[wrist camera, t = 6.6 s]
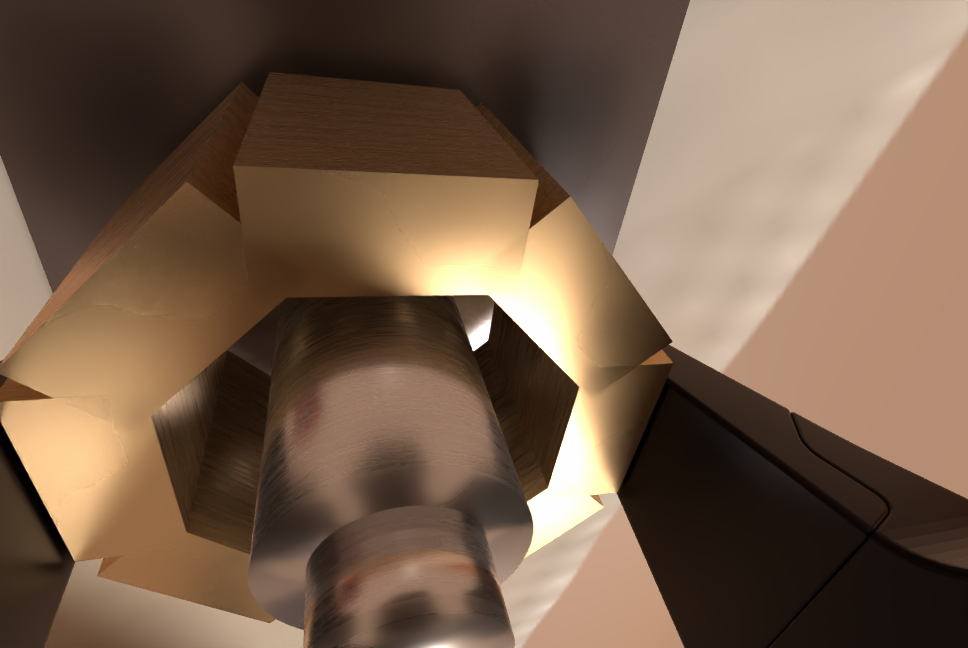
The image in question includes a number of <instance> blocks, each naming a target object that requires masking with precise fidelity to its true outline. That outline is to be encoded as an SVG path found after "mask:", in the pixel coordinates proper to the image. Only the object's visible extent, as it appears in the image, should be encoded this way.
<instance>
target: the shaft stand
mask: <svg viewBox="0 0 968 648" xmlns="http://www.w3.org/2000/svg"><path fill="white" fill-rule="evenodd" d="M689 2H690V0H0V155H1V157H2V160H3V163H4V165H5V168H6V171H7V173H8V176H9V178H10V181H11V184H12V186H13V189H14V192H15V194H16V197H17V200H18V202H19V205H20V207H21V210H22V213H23V215H24V218H25V221H26V223H27V226H28V228H29V231H30V234H31V236H32V239H33V242H34V244H35V247H36V250H37V252H38V255H39V257H40V260H41V263H42V265H43V268H44V271H45V273H46V276H47V278H48V281H49V284H50V286H51V289H52V292H53V294H54V292H55V291H56V290H57V288H58V287H59V286H60V284H61V283H62V282H63V280H64V279H65V278H66V276H67V275H68V274H69V272H70V271H71V270H72V268H73V267H74V266H75V264H76V263H77V262H78V260H79V259H80V258H81V256H82V255H83V254H84V252H85V251H86V250H87V248H88V247H89V246H90V244H91V243H92V242H93V240H94V239H95V238H96V236H97V235H98V234H99V232H100V231H101V230H102V228H103V227H104V226H105V224H106V223H107V222H108V220H109V219H110V218H111V216H112V215H113V214H114V212H115V211H116V210H117V208H118V207H119V206H120V205H121V204H122V203H123V202H124V201H125V200H126V199H127V198H128V197H129V196H130V195H131V194H132V193H133V192H134V191H135V190H136V189H137V188H138V187H139V186H140V185H141V184H142V183H143V182H144V181H145V180H146V179H147V177H148V176H149V175H150V174H151V173H152V172H153V171H154V170H155V169H156V168H157V167H158V166H159V165H160V164H161V163H162V162H163V161H164V160H165V159H166V158H167V157H168V156H169V155H170V154H171V153H172V152H173V151H174V150H175V149H176V148H177V147H178V146H179V145H180V144H181V143H182V142H183V141H184V140H185V139H186V138H187V137H188V136H189V135H190V134H191V133H192V132H193V131H194V130H195V129H196V128H197V127H198V126H199V125H200V124H201V123H202V121H203V120H204V119H205V118H206V117H207V116H208V115H209V114H210V113H211V112H212V111H213V110H214V109H215V108H216V107H217V106H218V105H219V104H220V103H221V102H222V101H223V100H224V99H225V98H226V97H227V96H228V95H229V94H230V93H231V92H232V91H233V90H234V89H235V88H236V87H237V86H238V85H239V84H240V83H241V82H243V83H244V84H245V85H246V86H247V87H248V88H249V89H250V90H251V91H252V92H253V93H254V94H255V95H256V96H257V97H258V98H260V95H261V92H262V90H263V87H264V85H265V82H266V80H267V77H268V75H269V72H273V73H284V74H295V75H306V76H317V77H328V78H338V79H349V80H360V81H371V82H382V83H392V84H403V85H414V86H425V87H436V88H447V89H457V90H460V91H461V92H462V93H463V94H464V95H465V96H466V97H467V99H468V100H469V101H470V102H471V103H472V104H473V105H474V107H475V108H476V107H477V106H478V105H479V104H480V103H481V102H482V103H483V104H484V105H485V106H486V107H487V108H488V109H489V110H490V112H491V113H492V114H493V115H494V116H495V117H496V118H497V119H498V120H499V121H500V122H501V123H502V124H503V125H504V126H505V127H506V128H507V130H508V131H509V132H510V133H511V134H512V135H513V136H514V137H515V138H516V139H517V140H518V141H519V142H520V143H521V144H522V145H523V146H524V148H525V149H526V150H527V151H528V152H529V153H530V154H531V155H532V156H533V157H534V158H535V159H536V160H537V161H538V162H539V163H540V165H541V166H542V167H543V168H544V169H545V170H546V171H547V172H548V173H549V174H550V175H551V176H552V177H553V178H554V179H555V180H556V181H557V183H558V184H559V185H560V186H561V187H562V188H563V189H564V190H565V191H566V192H567V193H568V194H569V195H570V196H571V198H572V199H573V201H574V202H575V203H576V205H577V206H578V208H579V209H580V211H581V212H582V213H583V215H584V216H585V218H586V219H587V221H588V222H589V223H590V225H591V226H592V228H593V229H594V230H595V232H596V233H597V235H598V236H599V238H600V239H601V240H602V242H603V243H604V245H605V246H606V248H607V249H608V250H609V252H610V253H611V255H612V254H613V251H614V248H615V245H616V241H617V238H618V235H619V231H620V228H621V225H622V222H623V218H624V215H625V212H626V208H627V205H628V202H629V199H630V195H631V192H632V189H633V185H634V182H635V179H636V176H637V172H638V169H639V166H640V162H641V159H642V156H643V153H644V149H645V146H646V143H647V139H648V136H649V133H650V130H651V126H652V123H653V120H654V117H655V113H656V110H657V107H658V103H659V100H660V97H661V94H662V90H663V87H664V84H665V80H666V77H667V74H668V71H669V67H670V64H671V61H672V57H673V54H674V51H675V48H676V44H677V41H678V38H679V34H680V31H681V28H682V25H683V21H684V18H685V15H686V11H687V8H688V5H689ZM494 302H495V301H494V300H493V299H492V298H491V297H490V296H489V295H428V296H361V297H295V298H285V299H284V300H283V301H282V302H281V303H280V304H279V305H277V306H276V307H275V308H274V309H273V310H272V311H270V312H269V313H268V314H267V315H266V316H265V317H264V318H262V319H261V320H260V321H259V322H258V323H257V324H256V325H254V326H253V327H252V328H251V329H250V330H249V331H248V332H246V333H245V334H244V335H243V336H242V337H241V338H240V339H238V340H237V341H236V342H235V343H234V344H233V345H232V346H230V347H229V348H228V351H230V352H232V353H233V354H235V355H237V356H238V357H240V358H242V359H243V360H245V361H247V362H248V363H250V364H252V365H253V366H255V367H256V368H258V369H260V370H261V371H263V372H265V373H266V374H268V375H270V376H271V382H270V390H269V399H268V407H267V416H266V424H265V433H264V441H263V450H262V458H261V467H260V475H259V484H258V492H257V501H256V509H255V518H254V526H253V534H252V543H251V551H250V560H249V568H248V582H249V587H250V590H251V593H252V595H253V597H254V598H255V600H256V602H257V603H258V604H259V605H260V606H261V607H262V608H263V609H264V610H265V611H266V612H267V613H268V614H270V615H271V616H273V617H274V618H276V619H277V620H279V621H281V622H284V623H286V624H288V625H290V626H293V627H296V628H299V629H303V630H304V644H303V648H514V646H515V640H514V635H513V632H512V628H511V624H510V621H509V617H508V613H507V610H506V606H505V602H504V598H503V595H502V591H501V587H500V584H502V583H503V582H504V581H505V580H506V579H507V578H508V577H509V576H510V575H511V574H512V573H513V572H514V571H515V570H516V569H517V567H518V566H519V565H520V564H521V562H522V561H523V559H524V557H525V556H526V554H527V552H528V550H529V548H530V545H531V543H532V538H533V533H534V523H533V518H532V514H531V511H530V508H529V505H528V503H527V500H526V497H525V494H524V491H523V489H522V486H521V483H520V480H519V477H518V475H517V472H516V469H515V466H514V463H513V461H512V458H511V455H510V452H509V450H508V447H507V444H506V441H505V438H504V436H503V433H502V430H501V427H500V424H499V422H498V419H497V416H496V413H495V410H494V408H493V405H492V402H491V399H490V396H489V394H488V391H487V388H486V385H485V382H484V380H483V377H482V374H481V371H480V368H479V366H478V363H477V360H476V357H475V354H474V352H473V351H474V350H476V349H477V348H478V347H480V346H481V345H482V344H483V343H485V342H486V341H487V340H488V337H489V331H490V326H491V320H492V314H493V308H494Z"/></svg>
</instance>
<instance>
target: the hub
mask: <svg viewBox="0 0 968 648" xmlns="http://www.w3.org/2000/svg"><path fill="white" fill-rule="evenodd" d="M428 295H489V296H490V297H491V298H492V299H493V300H494V301H495V302H494V308H493V314H492V320H491V326H490V331H489V337H488V340H487V341H486V342H485V343H483V344H482V345H481V346H480V347H478V348H477V349H476V350H474V351H473V352H474V354H475V357H476V360H477V363H478V366H479V368H480V371H481V374H482V377H483V380H484V382H485V385H486V388H487V391H488V394H489V396H490V399H491V402H492V405H493V408H494V410H495V413H496V416H497V419H498V422H499V424H500V427H501V430H502V433H503V436H504V438H505V441H506V444H507V447H508V450H509V452H510V455H511V458H512V461H513V463H514V466H515V469H516V472H517V475H518V477H519V480H520V483H521V486H522V489H523V491H524V494H525V497H526V500H527V503H528V505H529V508H530V511H531V514H532V518H533V523H534V533H533V538H532V543H531V545H530V548H529V550H528V552H527V554H526V556H525V557H527V556H528V555H530V554H532V553H533V552H535V551H536V550H538V549H539V548H541V547H542V546H544V545H546V544H547V543H549V542H550V541H552V540H553V539H555V538H556V537H558V536H560V535H561V534H563V533H564V532H566V531H567V530H569V529H570V528H572V527H574V526H575V525H577V524H578V523H580V522H581V521H583V520H584V519H586V518H588V517H589V516H591V515H592V514H594V513H595V512H597V511H598V510H600V509H602V508H603V507H604V506H603V504H602V502H601V500H600V498H599V496H598V494H605V493H612V492H618V491H619V489H620V486H621V484H622V482H623V479H624V477H625V475H626V472H627V470H628V468H629V465H630V463H631V461H632V458H633V456H634V454H635V451H636V449H637V447H638V444H639V442H640V440H641V437H642V435H643V433H644V430H645V428H646V426H647V423H648V421H649V419H650V416H651V414H652V412H653V409H654V407H655V405H656V402H657V400H658V398H659V395H660V393H661V391H662V389H663V386H664V384H665V382H666V379H667V377H668V375H669V372H670V370H671V368H672V365H673V362H672V361H671V360H670V358H669V357H668V356H667V355H666V354H665V352H664V351H663V350H662V349H663V348H664V347H666V346H667V345H669V344H670V343H672V340H671V339H670V337H669V336H668V334H667V333H666V332H665V330H664V329H663V327H662V326H661V324H660V323H659V322H658V320H657V319H656V317H655V316H654V314H653V313H652V312H651V310H650V309H649V307H648V306H647V304H646V303H645V302H644V300H643V299H642V297H641V296H640V295H639V293H638V292H637V290H636V289H635V287H634V286H633V285H632V283H631V282H630V280H629V279H628V277H627V276H626V275H625V273H624V272H623V270H622V269H621V267H620V266H619V265H618V263H617V262H616V260H615V259H614V258H613V256H612V255H611V253H610V252H609V250H608V249H607V248H606V246H605V245H604V243H603V242H602V240H601V239H600V238H599V236H598V235H597V233H596V232H595V230H594V229H593V228H592V226H591V225H590V223H589V222H588V221H587V219H586V218H585V216H584V215H583V213H582V212H581V211H580V209H579V208H578V206H577V205H576V203H575V202H574V201H573V199H572V198H571V196H570V195H569V194H568V193H567V192H566V191H565V190H564V189H563V188H562V187H561V186H560V185H559V184H558V183H557V181H556V180H555V179H554V178H553V177H552V176H551V175H550V174H549V173H548V172H547V171H546V170H545V169H544V168H543V167H542V166H541V165H540V163H539V162H538V161H537V160H536V159H535V158H534V157H533V156H532V155H531V154H530V153H529V152H528V151H527V150H526V149H525V148H524V146H523V145H522V144H521V143H520V142H519V141H518V140H517V139H516V138H515V137H514V136H513V135H512V134H511V133H510V132H509V131H508V130H507V128H506V127H505V126H504V125H503V124H502V123H501V122H500V121H499V120H498V119H497V118H496V117H495V116H494V115H493V114H492V113H491V112H490V110H489V109H488V108H487V107H486V106H485V105H484V104H483V103H482V102H481V103H480V104H479V105H478V106H477V107H476V108H475V107H474V105H473V104H472V103H471V102H470V101H469V100H468V99H467V97H466V96H465V95H464V94H463V93H462V92H461V91H460V90H457V89H447V88H436V87H425V86H414V85H403V84H392V83H382V82H371V81H360V80H349V79H338V78H328V77H317V76H306V75H295V74H284V73H273V72H269V75H268V77H267V80H266V82H265V85H264V87H263V90H262V92H261V95H260V98H258V97H257V96H256V95H255V94H254V93H253V92H252V91H251V90H250V89H249V88H248V87H247V86H246V85H245V84H244V83H243V82H241V83H240V84H239V85H238V86H237V87H236V88H235V89H234V90H233V91H232V92H231V93H230V94H229V95H228V96H227V97H226V98H225V99H224V100H223V101H222V102H221V103H220V104H219V105H218V106H217V107H216V108H215V109H214V110H213V111H212V112H211V113H210V114H209V115H208V116H207V117H206V118H205V119H204V120H203V121H202V123H201V124H200V125H199V126H198V127H197V128H196V129H195V130H194V131H193V132H192V133H191V134H190V135H189V136H188V137H187V138H186V139H185V140H184V141H183V142H182V143H181V144H180V145H179V146H178V147H177V148H176V149H175V150H174V151H173V152H172V153H171V154H170V155H169V156H168V157H167V158H166V159H165V160H164V161H163V162H162V163H161V164H160V165H159V166H158V167H157V168H156V169H155V170H154V171H153V172H152V173H151V174H150V175H149V176H148V177H147V179H146V180H145V181H144V182H143V183H142V184H141V185H140V186H139V187H138V188H137V189H136V190H135V191H134V192H133V193H132V194H131V195H130V196H129V197H128V198H127V199H126V200H125V201H124V202H123V203H122V204H121V205H120V206H119V207H118V208H117V210H116V211H115V212H114V214H113V215H112V216H111V218H110V219H109V220H108V222H107V223H106V224H105V226H104V227H103V228H102V230H101V231H100V232H99V234H98V235H97V236H96V238H95V239H94V240H93V242H92V243H91V244H90V246H89V247H88V248H87V250H86V251H85V252H84V254H83V255H82V256H81V258H80V259H79V260H78V262H77V263H76V264H75V266H74V267H73V268H72V270H71V271H70V272H69V274H68V275H67V276H66V278H65V279H64V280H63V282H62V283H61V284H60V286H59V287H58V288H57V290H56V291H55V292H54V294H53V295H52V296H51V298H50V299H49V300H48V302H47V303H46V304H45V306H44V307H43V308H42V310H41V311H40V312H39V314H38V315H37V316H36V318H35V319H34V320H33V322H32V323H31V324H30V326H29V327H28V328H27V330H26V331H25V332H24V334H23V335H22V336H21V338H20V339H19V340H18V342H17V343H16V344H15V346H14V347H13V348H12V350H11V351H10V352H9V354H8V355H7V356H6V358H5V359H4V360H3V362H2V363H1V364H0V374H1V375H3V376H5V377H7V379H6V381H5V382H4V384H3V385H2V387H1V388H0V421H1V423H2V425H3V427H4V429H5V431H6V433H7V435H8V437H9V438H10V440H11V442H12V444H13V446H14V448H15V450H16V452H17V453H18V455H19V457H20V459H21V461H22V463H23V465H24V467H25V469H26V470H27V472H28V474H29V476H30V478H31V480H32V482H33V484H34V486H35V487H36V489H37V491H38V493H39V495H40V497H41V499H42V501H43V502H44V504H45V506H46V508H47V510H48V512H49V514H50V516H51V518H52V519H53V521H54V523H55V525H56V527H57V529H58V531H59V533H60V534H61V536H62V538H63V540H64V542H65V544H66V546H67V548H68V550H69V551H70V553H71V555H72V557H73V559H74V561H75V562H76V561H84V560H92V559H100V558H103V561H102V564H101V567H100V570H99V573H98V576H99V577H103V578H106V579H110V580H114V581H117V582H121V583H125V584H128V585H132V586H136V587H139V588H143V589H147V590H150V591H154V592H158V593H161V594H165V595H168V596H172V597H176V598H179V599H183V600H187V601H190V602H194V603H198V604H201V605H205V606H209V607H212V608H216V609H220V610H223V611H227V612H231V613H234V614H238V615H242V616H245V617H249V618H253V619H256V620H260V621H264V622H267V623H271V622H272V621H274V620H275V619H276V618H274V617H273V616H271V615H270V614H268V613H267V612H266V611H265V610H264V609H263V608H262V607H261V606H260V605H259V604H258V603H257V602H256V600H255V598H254V597H253V595H252V593H251V590H250V587H249V582H248V568H249V560H250V551H251V543H252V534H253V526H254V518H255V509H256V501H257V492H258V484H259V475H260V467H261V458H262V450H263V441H264V433H265V424H266V416H267V407H268V399H269V390H270V382H271V376H270V375H268V374H266V373H265V372H263V371H261V370H260V369H258V368H256V367H255V366H253V365H252V364H250V363H248V362H247V361H245V360H243V359H242V358H240V357H238V356H237V355H235V354H233V353H232V352H230V351H228V348H229V347H230V346H232V345H233V344H234V343H235V342H236V341H237V340H238V339H240V338H241V337H242V336H243V335H244V334H245V333H246V332H248V331H249V330H250V329H251V328H252V327H253V326H254V325H256V324H257V323H258V322H259V321H260V320H261V319H262V318H264V317H265V316H266V315H267V314H268V313H269V312H270V311H272V310H273V309H274V308H275V307H276V306H277V305H279V304H280V303H281V302H282V301H283V300H284V299H285V298H295V297H361V296H428ZM525 557H524V558H525Z"/></svg>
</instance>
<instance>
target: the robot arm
mask: <svg viewBox="0 0 968 648" xmlns="http://www.w3.org/2000/svg"><path fill="white" fill-rule="evenodd" d="M662 350H663V351H664V352H665V354H666V355H667V356H668V357H669V358H670V360H671V361H672V362H673V365H672V368H671V370H670V372H669V375H668V377H667V379H666V382H665V384H664V386H663V389H662V391H661V393H660V395H659V398H658V400H657V402H656V405H655V407H654V409H653V412H652V414H651V416H650V419H649V421H648V423H647V426H646V428H645V430H644V433H643V435H642V437H641V440H640V442H639V444H638V447H637V449H636V451H635V454H634V456H633V458H632V461H631V463H630V465H629V468H628V470H627V472H626V475H625V477H624V479H623V482H622V484H621V486H620V489H619V491H618V492H616V493H617V495H618V497H619V499H620V502H621V504H622V506H623V508H624V511H625V513H626V515H627V517H628V520H629V522H630V524H631V527H632V529H633V531H634V533H635V536H636V538H637V540H638V543H639V545H640V547H641V550H642V552H643V554H644V556H645V559H646V561H647V563H648V566H649V568H650V570H651V572H652V575H653V577H654V579H655V582H656V584H657V586H658V588H659V591H660V593H661V595H662V598H663V600H664V602H665V604H666V607H667V609H668V611H669V614H670V616H671V618H672V620H673V623H674V625H675V627H676V630H677V631H678V634H679V636H680V638H681V641H682V643H683V645H684V648H968V499H967V498H964V497H962V496H960V495H958V494H956V493H954V492H952V491H950V490H948V489H946V488H944V487H942V486H939V485H937V484H935V483H933V482H931V481H929V480H927V479H924V478H923V477H921V476H919V475H917V474H914V473H912V472H910V471H908V470H906V469H904V468H902V467H900V466H898V465H895V464H894V463H892V462H889V461H887V460H885V459H883V458H881V457H879V456H877V455H875V454H873V453H871V452H869V451H867V450H865V449H863V448H860V447H859V446H857V445H855V444H853V443H851V442H849V441H847V440H845V439H843V438H841V437H839V436H838V435H836V434H834V433H832V432H829V431H828V430H826V429H824V428H822V427H820V426H818V425H817V424H815V423H813V422H811V421H809V420H807V419H805V418H803V417H802V416H800V415H798V414H796V413H794V412H791V413H790V412H789V410H788V409H787V408H785V407H783V406H781V405H779V404H777V403H776V402H774V401H772V400H770V399H768V398H766V397H764V396H762V395H761V394H759V393H757V392H755V391H753V390H752V389H750V388H748V387H746V386H744V385H742V384H740V383H739V382H737V381H735V380H733V379H731V378H729V377H727V376H726V375H724V374H722V373H720V372H718V371H716V370H715V369H713V368H711V367H709V366H707V365H705V364H703V363H702V362H700V361H698V360H696V359H694V358H692V357H690V356H689V355H687V354H685V353H683V352H681V351H679V350H677V349H676V348H674V347H672V346H670V345H667V346H666V347H664V348H663V349H662ZM2 362H3V360H2V361H0V364H1V363H2ZM6 379H7V377H5V376H3V375H1V374H0V388H1V387H2V385H3V384H4V382H5V381H6ZM74 564H75V561H74V559H73V557H72V555H71V553H70V551H69V550H68V548H67V546H66V544H65V542H64V540H63V538H62V536H61V534H60V533H59V531H58V529H57V527H56V525H55V523H54V521H53V519H52V518H51V516H50V514H49V512H48V510H47V508H46V506H45V504H44V502H43V501H42V499H41V497H40V495H39V493H38V491H37V489H36V487H35V486H34V484H33V482H32V480H31V478H30V476H29V474H28V472H27V470H26V469H25V467H24V465H23V463H22V461H21V459H20V457H19V455H18V453H17V452H16V450H15V448H14V446H13V444H12V442H11V440H10V438H9V437H8V435H7V433H6V431H5V429H4V427H3V425H2V423H1V421H0V648H44V647H45V644H46V641H47V638H48V636H49V633H50V630H51V627H52V624H53V622H54V619H55V616H56V613H57V611H58V608H59V605H60V602H61V600H62V597H63V594H64V591H65V589H66V586H67V583H68V580H69V578H70V575H71V572H72V569H73V567H74Z"/></svg>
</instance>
